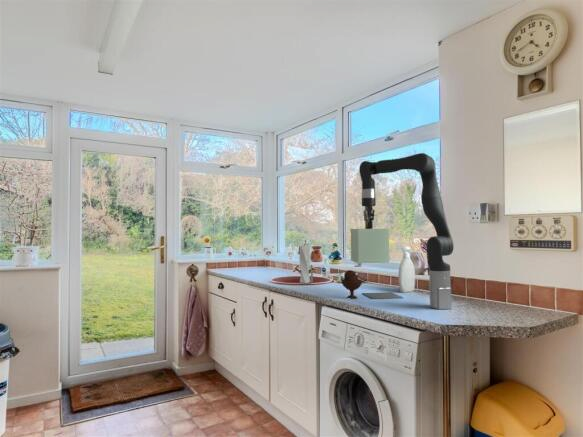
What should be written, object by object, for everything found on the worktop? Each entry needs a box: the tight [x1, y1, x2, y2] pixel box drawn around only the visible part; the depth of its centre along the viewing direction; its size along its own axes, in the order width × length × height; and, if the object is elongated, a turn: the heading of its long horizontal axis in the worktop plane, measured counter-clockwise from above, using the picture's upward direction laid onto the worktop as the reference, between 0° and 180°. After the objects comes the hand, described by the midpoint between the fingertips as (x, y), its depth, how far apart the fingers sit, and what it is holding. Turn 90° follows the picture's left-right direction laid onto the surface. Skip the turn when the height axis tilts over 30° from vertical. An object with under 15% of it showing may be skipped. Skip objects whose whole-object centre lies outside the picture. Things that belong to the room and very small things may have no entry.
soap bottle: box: [398, 245, 416, 294], centre depth 227 cm, size 14×8×27 cm, turn 130°
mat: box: [361, 291, 404, 300], centre depth 213 cm, size 17×17×1 cm
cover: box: [350, 220, 390, 264], centre depth 212 cm, size 17×17×23 cm
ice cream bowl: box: [340, 269, 363, 300], centre depth 207 cm, size 11×11×15 cm
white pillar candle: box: [299, 242, 314, 285], centre depth 269 cm, size 8×8×28 cm
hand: (368, 228), depth 212 cm, fingers closed on cover, 4 cm apart
